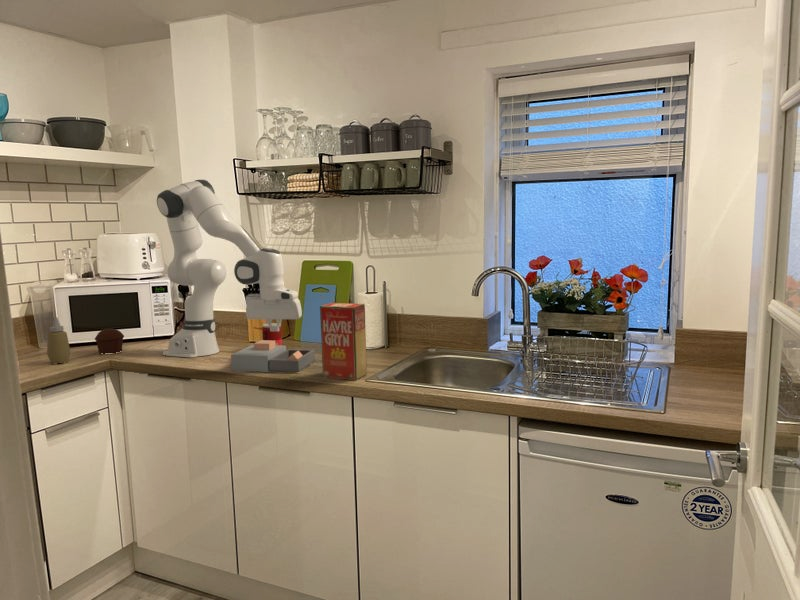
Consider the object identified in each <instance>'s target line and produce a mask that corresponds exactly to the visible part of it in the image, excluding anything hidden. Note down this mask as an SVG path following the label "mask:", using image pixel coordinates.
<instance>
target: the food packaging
mask: <svg viewBox="0 0 800 600" xmlns="http://www.w3.org/2000/svg"><path fill="white" fill-rule="evenodd" d="M319 312H320V314H319V316H320V333H321V335H320V337H321V364H322V368H321V369H322V378H323V377H326V378H325V379H334V378H335V379H336V380H345V379H346V380H349V381H358V380H360V379H361V378H363V377H366V375H368V371H367V368H368V367H367V363H368V362H367V340H366V339H367V338H366V336H367V335H366V334H367V333H366V332H367V331H366V305H365V303H347V302H346V303H344V302H343V303H342V302H330V303H326V304H323V305H320V306H319ZM335 379H334V380H335Z"/></svg>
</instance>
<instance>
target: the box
mask: <svg viewBox="0 0 800 600" xmlns="http://www.w3.org/2000/svg"><path fill="white" fill-rule="evenodd" d="M298 350H299V352H300V353H301V354H302V355H303V356H302V357H300V358H299V359H297V360H287V359H288V358H289V357H290V356H291V355H292V354H294V353H295V352H297V351H298ZM315 351H316V350H315V349H289V348H288V349H287V348H286V350H285V351H284V352H282V353H280V354H278V355H277V356H275V357H273V358H271V359H270V360H269V373H279V372H300V371H301V370H302V371H304V370H305V369H307V368H308V367H310V366H311V365H312V364H313V362H314V361H315V362H316V352H315ZM315 362H314V363H315ZM311 363H312V364H311ZM310 364H311V365H310ZM307 366H308V367H307ZM306 367H307V368H306ZM304 368H305V369H304ZM303 369H304V370H303ZM302 371H301V372H302ZM301 372H300V373H301Z"/></svg>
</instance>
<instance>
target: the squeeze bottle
mask: <svg viewBox="0 0 800 600" xmlns="http://www.w3.org/2000/svg"><path fill="white" fill-rule="evenodd" d="M64 329H65V328H64V326H63V325H61V324H60V321H59V318H58V317H57V316H55V317H54V318H53V323H52V326H50V327H49V333H48V334H47V345H46V346H47V351H46V352H47V353H46V355H47V357H48V359H49V361H50V362H49V363H51V364H52V363H54V364H53V365H56V364H55V363H63V364H65V363H64V362H66V363H68V362H69V360H70V356H71V353H72V352H71V349H70V342H69V339H68V333H67V331H65V330H64Z"/></svg>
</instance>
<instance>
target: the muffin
mask: <svg viewBox="0 0 800 600" xmlns="http://www.w3.org/2000/svg"><path fill="white" fill-rule="evenodd" d="M124 337H125V335H124V334H123V332H121V331H120V330H118V329H116V328H109V327H108V328H104V329H102V330H100V331H99V332H97V334H96V335H95V338H94V341H96V346H97V350H98V353H103V354H105V353H116V352H120V351H122V352H123V343H124ZM120 353H121V352H120Z"/></svg>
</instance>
